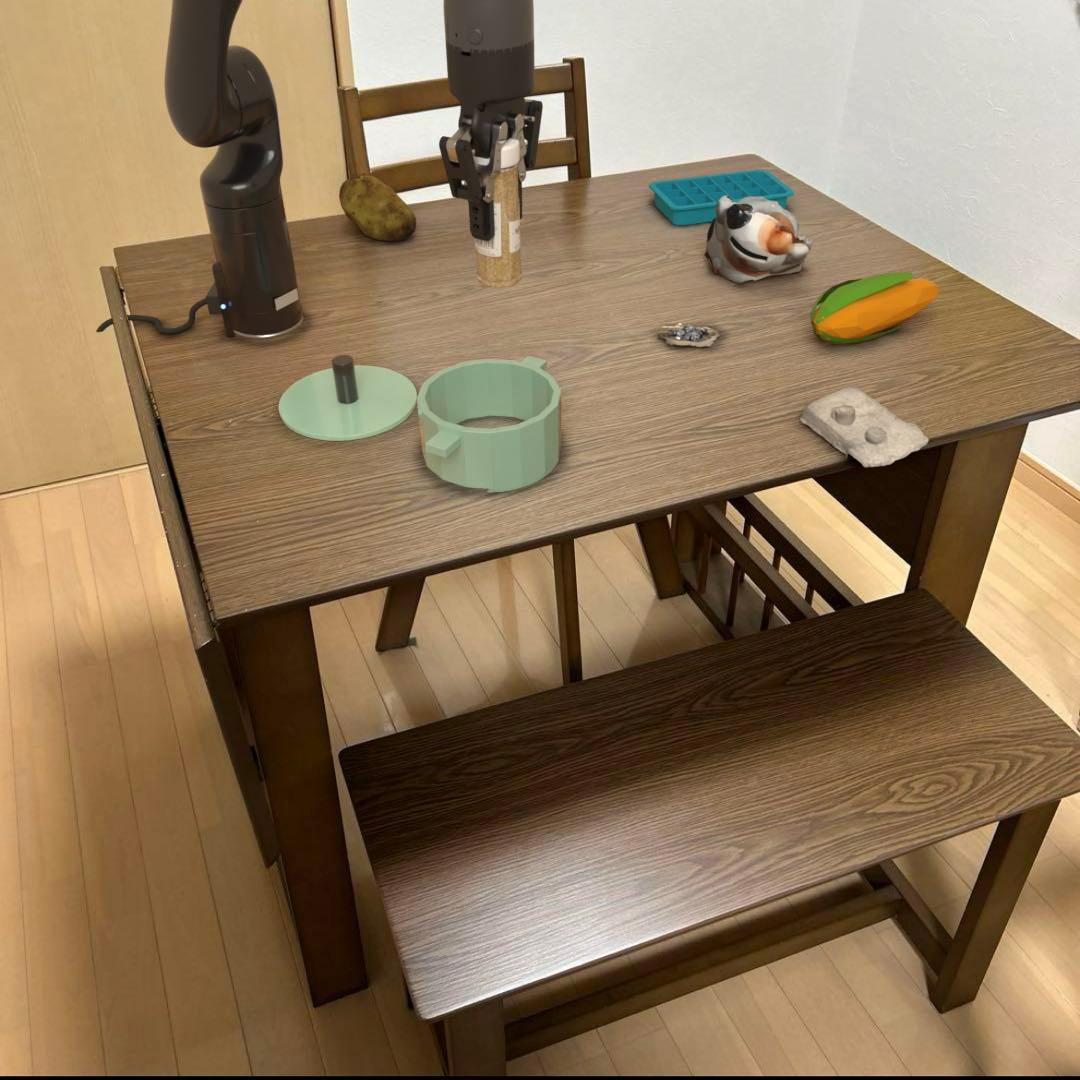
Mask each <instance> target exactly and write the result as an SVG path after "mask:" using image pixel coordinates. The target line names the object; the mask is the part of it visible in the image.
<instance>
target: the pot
mask: <svg viewBox="0 0 1080 1080" xmlns="http://www.w3.org/2000/svg"><path fill="white" fill-rule="evenodd" d="M547 368H548V360H546V359H543V358H539V357H537V356H532V355H527V356H526V357H524V359H522V360H521V361H519V360H515V359H505V358H504V359H502V358H482V359H481V358H480V359H474V360H468V361H461V362H458V363H456V364H452V365H450V366H448V367H445V368H442V369H439V370H438V371H436V372H434V373H433V374H432V375H431V376H430V377H429V378H427V379H426V380H425V381H424V382H422V383H421V386H420V388H419V390H418V392H417V404H416V406H417V412H418V413H417V414H418V425H419V434H420V443H421V452H422V456H423V459H424V462H425V466H426V467H427V469H429V470H430V471H432V472H433V473H434V474H435V475H437V477H438V478H440V479H441V480H443V481H445V482H450V483H451V484H455V485H459V486H461V487H465V488H473V489H487V490H486V491H485V493H488V494H489V493H502V492H504V493H505V492H510V491H514V490H519V489H523V488H526V487H528V486H531V485H533V484H535V483H537V482H539V481H541V480H543V479H544V478H545V477H547V476H548V475H549V474H550V473H552V471H553V470H554V469H555V468H556V466H557V464H558V463H559V461H560V458H561V451H562V389H561V388H560V386H559V383H557V380H556V379H555V377H554V376H553V375H552V374H550V373H549V372H547V371H546V370H547ZM489 416H490V417H510V418H516V419H519V420H522V422H519V423H517V424H511V425H505V426H499V427H492V428H489V427H487V428H486V427H471V426H469V427H468V426H464V425H460V424H459V423H461V422H463V421H466V420H470V419H477V418H483V417H489Z"/></svg>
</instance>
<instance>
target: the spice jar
mask: <svg viewBox="0 0 1080 1080" xmlns="http://www.w3.org/2000/svg"><path fill="white" fill-rule="evenodd" d="M473 158H474V162H475V163H478V164H483V165H488V163H489V161H490V158H489V159H485V158H480V157H475V156H474V155H473ZM519 160H520V147H519V141H518V140H515V139H512V138H510V139H509V140H507V141H505V142H504V144H503V148H502V151H501V170H500V173H499V174H498V175H496V176H495V179H494V188H493V197H492V200H494V226H495V236H494V238H492V239H491V240H489V241H485V240H480V239H476V238H474V247H475V254H476V275H475V277H476V281H477V282H478V283H479V284H480V285H483V286H484V287H487V288H493V289H503V288H504V289H505V288H510V287H513V286H515V285H517V284H519V283H520V282H521V281H522V278H523V271H522V262H521V261H522V260H521V247H522V245H521V244H522V241H521V240H522V239H521V220H520V209H519V197H518V165H519ZM477 175H478V179H479V183H480V187H482V185H483V175H482V174H481V173H477Z"/></svg>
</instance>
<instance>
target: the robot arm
mask: <svg viewBox="0 0 1080 1080" xmlns="http://www.w3.org/2000/svg"><path fill="white" fill-rule="evenodd" d="M243 1H244V0H171V12H170V22H169V30H168V31H169V33H168V40H167V47H166V57H165V66H164V86H163V87H164V99H165V105H166V109H167V114H168V116H169V118H170V121H171V124H172V126H173V127H174V129H175V131H176V132H177V133H178V135H179V136H180V137H181V138H182V139H183V140H184V142H186V143H187V144H189V145H191V146H193V147H196V148H201V149H208V148H214V147H217V150H216V152H215V154H214V156H213V157H212V158H211V160H210V161H209V163H208V164H207V165H206V166H205V167H204V168H203V170H202V172H201V174H200V176H199V187H200V192H201V197H202V201H203V206H204V211H205V215H206V220H207V224H208V229H209V233H210V238H211V242H212V247H213V252H214V258H215V260H214V262H212V265H211V270H212V276H213V280H214V283H212V285H211V287H210V289H209V290H208V291H207V293H206V295H205V297H204V298H203V299H201V300H199V301H196V303H194V304H193V305H192V306H191V308H190V309H189V313H188V320H187V322H185V323H184V324H182V325H180V326H178V327H177V326H176V327H169V328H168V327H167V328H166V327H163V326H162V322H161V320H160V319H159V318H157V317H155V316H149V315H142V314H126V315H127V317H128V320H129V321H130V322H145V323H152V324H154V326H155V329H156V331H157V332H158V333H159V334H162V335H177V334H181V333H184V332H186V331H187V330H189V329H190V328H192V327H193V325H194V324H195V321H196V313H197V312H198V310H199V309H201V308H202V307H204V306H206V305H207V309H208V314H209V315H210V316H217V315H218V316H221V317H222V322H223V325H224V329H225V330H224V331H225V335H226V337H234V338H235V337H238V338H241V339H245V340H252V341H264V340H266V341H267V340H273V339H274V340H275V339H277V338H282V337H285V336H287V335H290V334H292V333H294V332H295V331H297V330H299V329H300V328H301V327H302V325H303V323H304V321H305V316H304V312H303V307H302V303H301V298H300V297H301V296H300V292H299V291H300V290H299V285H298V279H297V273H296V266H295V262H294V256H293V255H294V254H293V250H292V244H291V238H290V232H289V226H288V220H287V214H286V209H285V203H284V196H283V191H282V184H281V178H282V172H283V167H284V157H283V156H284V155H283V146H282V140H281V139H282V138H281V129H280V120H279V111H278V104H277V99H276V93H275V89H274V85H273V82H272V79H271V77H270V74H269V72H268V70H267V68H266V66H265V64H264V63H263V62H262V61H261V59H260V58H259V56H257V54H256V53H254V52H253V51H251V50H250V49H249V48H247V47H245V46H241V45H236V44H234V45H230V38H231V34H232V30H233V25H234V22H235V20H236V17H237V14H238V12H239V10H240V8H241V6H242V4H243ZM442 5H443V23H444V37H445V41H444V42H445V55H446V56H445V57H446V58H445V59H446V71H447V73H446V74H447V89H448V91H449V92H450V94H451V95H452V96H453V97H455V98H456V100H457V101H458V103H459V104H460V110H459V116H458V122H457V123H458V125H457V127H458V129H457V130H456V131H455V133H454V134H452V136H451V137H450V136H445V135H442V136H441V137H440V139H439V143H438V148H439V151H440V152H439V153H440V155H441V159H442V163H443V167H444V170H445V174H446V178H447V181H448V185H449V189H450V193H451V196H452V197H453V198H455V199H460V200H464V201H465V200H466V201H467V203H468V217H469V218H468V219H469V231H470V235H471V237H473V238H474V239H475V238H476V239H480V240H485V241H489V240H491V239H492V238H494V236H495V226H494V200H492V197H493V188H494V179H495V176H496V175H498V174H499V173H500V170H501V151H502V148H503V144H504V142H505V141H507V140H509V139H510V138H512V139H515V140H518V141H519V147H520V160H519V165H518V197H519V209H520V221H521V220H522V219H523V182H524V181H525V180H526V177H527V171H528V169H530V170H533V169H534V168H535V166H536V162H537V157H538V156H537V155H538V149H539V148H538V147H539V139H540V131H541V124H542V117H543V110H544V106H543V104H544V103H543V102H542V101H541V100H536V99H531V98H530V99H529V98H526V97H528V96H530V95H531V94H532V92H533V91H534V90H535V87H536V84H535V83H536V79H535V78H536V73H535V69H536V68H535V7H534V0H443V4H442ZM526 142H527V145H526ZM473 155H474V156H475V157H480V158H485V159H489V158H490V161H489V163H488V165H483V164H478V163H475V162H474V158H473ZM477 173H481V174H482V175H483V185H482V187H480V183H479V179H478V175H477ZM462 180H463V182H462ZM112 318H113V317H111V318H108V319H107V320H105V321H103V322H102V323H101V324H100V325H99V326H98V327H97V328H96V331H95V332H96V333H102V332H105V330H106V329H107V328H109V327H111V326H112V325H114V324H115V323H113V319H112ZM129 321H128V322H129Z"/></svg>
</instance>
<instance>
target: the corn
mask: <svg viewBox="0 0 1080 1080" xmlns="http://www.w3.org/2000/svg"><path fill="white" fill-rule="evenodd" d="M913 277H914V273H913V272H909V271H908V272H907V271H905V272H903V271H901V272H900V271H899V272H898V271H897V272H885V273H881V274H876V275H872V276H867V277H865V278H857V279H848V280H846V281H843V282H841V283H838V284H835V285H833V286H830V287H829V288H828V289H826V290H825V291H824V292H823V293H822V294H820V296H819V297H818V298H817V300H816V301H815V303H814V304H813V306H812V308H811V310H810V314H809V316H810V324H811V327H812V331H813V334H814V335H815V336H817V337H819V338H820V339H821V340H822V341H825V342H827V343H829V344H833V345H834V344H853V343H860V342H865V341H869V340H872V339H876V338H878V337H881V336H885V335H888V334H890V333H892V332H894V331H896V330H898V329H901V328H904V327H906V326H907V325H908V323H904V324H902V325H900V326H896V325H898V324H900V323H902V322H904V321H905V320H907V319H908V318H911V317H912V316H914V315H915V314H917V313H918V312H919V311H921V310H922V309H923V308H925V307H926V306H928V305H929V304H930V303H932V302H933V301H935V300H936V299H937V298H938V295H939V289H940V286H939V285H937V284H936V283H934V282H932V281H931V280H929V279H927V278H924V277H923V278H913ZM818 305H819V306H818ZM817 306H818V307H817ZM895 326H896V327H895ZM882 331H883V332H882Z"/></svg>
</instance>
